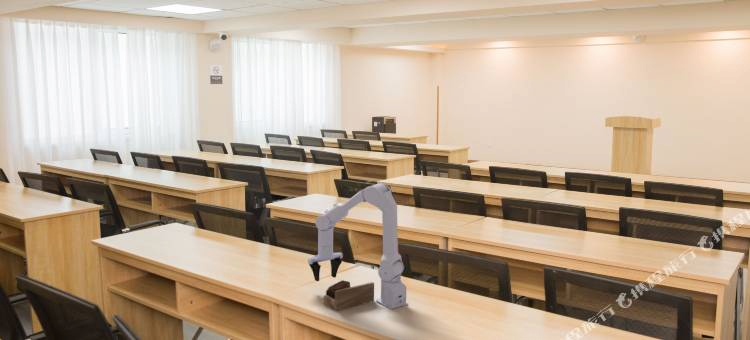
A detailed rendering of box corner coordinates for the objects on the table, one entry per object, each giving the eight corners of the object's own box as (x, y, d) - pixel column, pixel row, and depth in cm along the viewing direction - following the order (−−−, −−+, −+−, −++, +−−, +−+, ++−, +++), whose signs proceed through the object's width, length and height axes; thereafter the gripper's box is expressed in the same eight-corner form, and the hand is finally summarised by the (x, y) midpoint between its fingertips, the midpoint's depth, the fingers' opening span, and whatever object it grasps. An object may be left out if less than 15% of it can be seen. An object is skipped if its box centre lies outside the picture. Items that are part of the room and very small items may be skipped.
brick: (341, 291, 227) (341, 279, 227) (350, 293, 225) (350, 281, 225) (325, 299, 218) (325, 287, 218) (334, 302, 216) (334, 289, 216)
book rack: (373, 301, 217) (374, 283, 216) (336, 310, 207) (336, 291, 206) (360, 294, 224) (360, 276, 223) (323, 303, 214) (323, 284, 213)
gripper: (335, 239, 233) (335, 272, 235) (303, 245, 225) (303, 279, 227) (345, 243, 228) (345, 277, 230) (313, 249, 219) (313, 284, 221)
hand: (325, 278), depth 228 cm, fingers open, 7 cm apart
